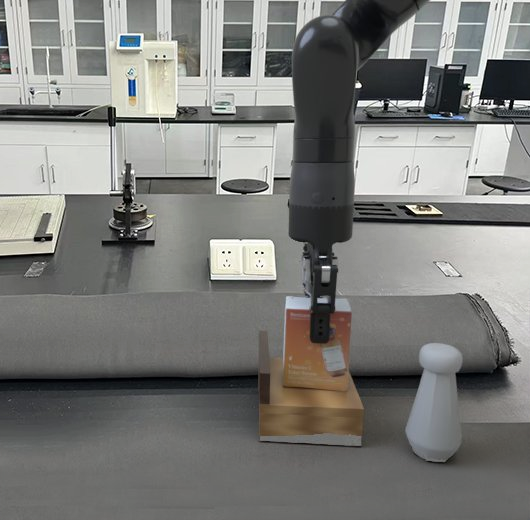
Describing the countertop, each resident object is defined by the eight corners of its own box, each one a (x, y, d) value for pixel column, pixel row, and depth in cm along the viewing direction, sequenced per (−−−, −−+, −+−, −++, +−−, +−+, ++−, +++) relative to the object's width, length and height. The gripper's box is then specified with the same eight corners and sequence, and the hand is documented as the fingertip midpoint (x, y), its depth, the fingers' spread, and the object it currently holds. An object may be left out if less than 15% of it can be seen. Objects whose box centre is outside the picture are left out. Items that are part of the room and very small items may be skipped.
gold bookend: (342, 392, 76) (345, 332, 74) (361, 447, 62) (366, 376, 60) (258, 388, 77) (258, 330, 75) (258, 442, 64) (259, 372, 62)
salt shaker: (466, 470, 58) (479, 359, 55) (410, 466, 59) (420, 356, 56) (450, 441, 63) (460, 338, 60) (399, 437, 64) (407, 336, 61)
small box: (282, 387, 67) (283, 308, 64) (283, 369, 72) (284, 294, 70) (348, 392, 65) (352, 311, 63) (344, 373, 71) (348, 297, 68)
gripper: (365, 207, 56) (357, 356, 60) (343, 193, 70) (338, 315, 74) (293, 207, 57) (289, 354, 61) (286, 193, 71) (283, 314, 75)
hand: (316, 332), depth 67 cm, fingers closed on small box, 5 cm apart
